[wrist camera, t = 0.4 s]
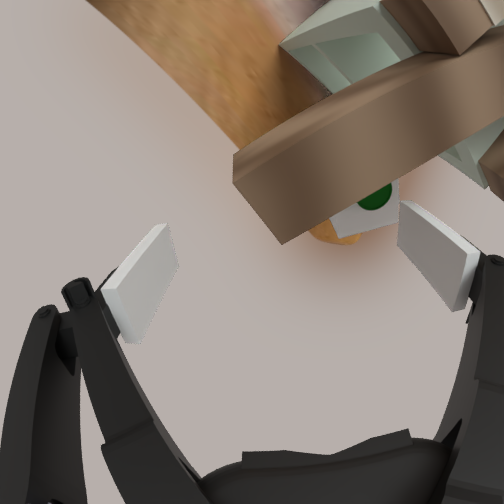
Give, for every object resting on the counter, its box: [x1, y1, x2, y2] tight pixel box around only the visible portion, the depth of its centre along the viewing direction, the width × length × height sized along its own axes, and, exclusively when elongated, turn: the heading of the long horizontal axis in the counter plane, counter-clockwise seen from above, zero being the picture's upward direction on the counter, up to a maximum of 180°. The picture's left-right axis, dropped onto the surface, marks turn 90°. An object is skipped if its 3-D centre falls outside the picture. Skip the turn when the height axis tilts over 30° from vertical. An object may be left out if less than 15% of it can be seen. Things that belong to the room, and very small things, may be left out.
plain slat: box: [233, 25, 504, 245], centre depth 7 cm, size 28×3×3 cm, turn 124°
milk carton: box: [329, 179, 400, 239], centre depth 34 cm, size 9×9×20 cm
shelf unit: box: [279, 0, 504, 189], centre depth 19 cm, size 14×13×30 cm
